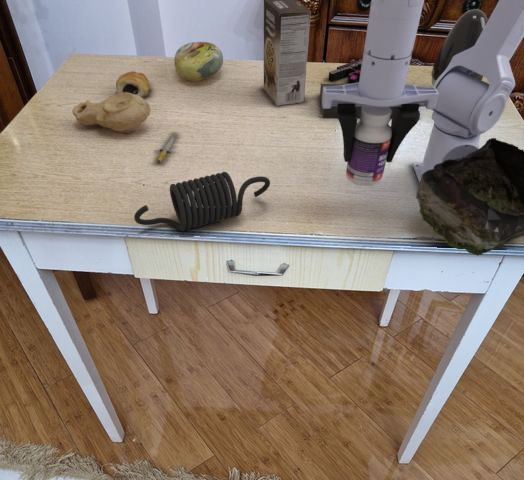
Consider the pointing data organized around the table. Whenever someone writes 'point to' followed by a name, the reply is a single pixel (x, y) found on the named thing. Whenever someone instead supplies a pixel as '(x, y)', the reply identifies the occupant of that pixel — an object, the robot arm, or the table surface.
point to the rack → (332, 111)
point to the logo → (347, 72)
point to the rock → (476, 198)
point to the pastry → (133, 84)
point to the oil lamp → (114, 112)
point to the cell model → (198, 60)
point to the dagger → (165, 151)
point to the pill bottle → (370, 146)
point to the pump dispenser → (460, 41)
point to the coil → (204, 201)
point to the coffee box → (285, 50)
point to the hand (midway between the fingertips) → (367, 158)
